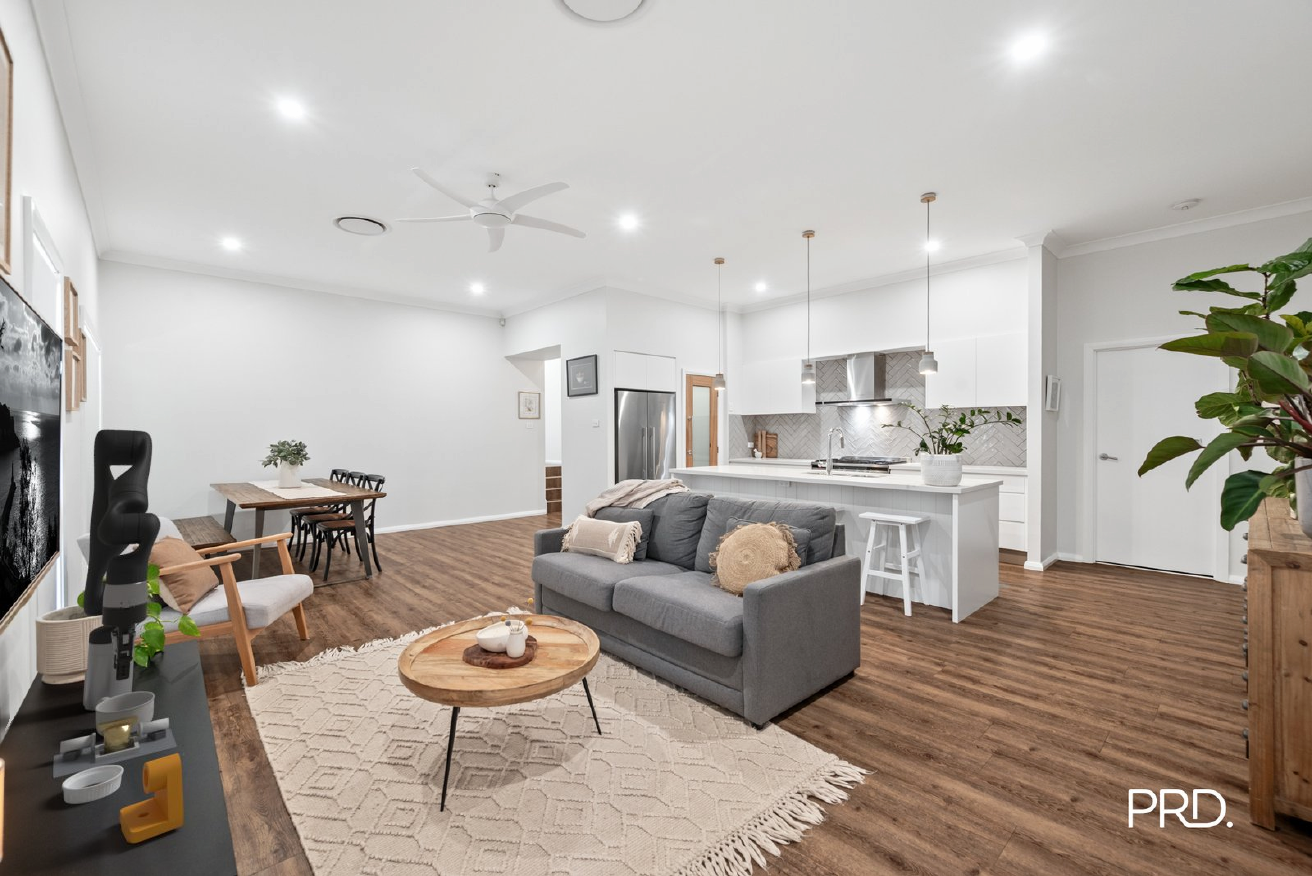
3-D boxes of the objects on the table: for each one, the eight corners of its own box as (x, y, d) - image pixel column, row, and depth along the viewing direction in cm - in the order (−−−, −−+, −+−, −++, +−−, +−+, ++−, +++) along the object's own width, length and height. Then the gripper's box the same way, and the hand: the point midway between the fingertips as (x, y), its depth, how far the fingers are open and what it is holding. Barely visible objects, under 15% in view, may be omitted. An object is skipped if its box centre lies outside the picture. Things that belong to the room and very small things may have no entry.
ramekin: (68, 817, 112) (70, 794, 112) (54, 801, 116) (55, 779, 117) (129, 795, 119) (130, 773, 119) (113, 781, 124) (114, 760, 124)
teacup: (162, 729, 147) (164, 696, 147) (107, 748, 137) (109, 713, 137) (132, 717, 153) (134, 685, 153) (77, 734, 143) (79, 700, 143)
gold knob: (97, 759, 130) (99, 728, 130) (96, 751, 133) (98, 721, 133) (136, 749, 134) (137, 719, 134) (134, 742, 137) (136, 713, 138)
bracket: (118, 823, 110) (122, 758, 111) (167, 806, 116) (171, 744, 116) (131, 849, 104) (135, 779, 104) (182, 830, 109) (186, 764, 110)
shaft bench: (52, 784, 122) (54, 755, 122) (53, 761, 131) (55, 734, 131) (176, 752, 136) (178, 726, 136) (170, 733, 145) (171, 709, 145)
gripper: (101, 597, 137) (97, 668, 136) (104, 611, 127) (99, 687, 126) (144, 593, 142) (140, 661, 142) (150, 605, 132) (146, 679, 132)
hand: (121, 673), depth 134 cm, fingers open, 8 cm apart
